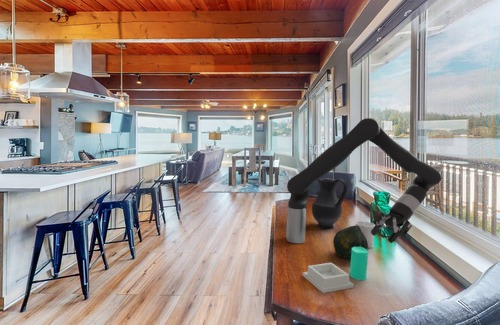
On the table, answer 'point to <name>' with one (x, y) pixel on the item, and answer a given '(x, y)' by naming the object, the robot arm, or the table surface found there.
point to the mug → (367, 231)
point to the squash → (349, 241)
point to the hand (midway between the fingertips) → (380, 237)
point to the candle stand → (328, 277)
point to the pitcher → (328, 203)
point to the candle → (358, 263)
